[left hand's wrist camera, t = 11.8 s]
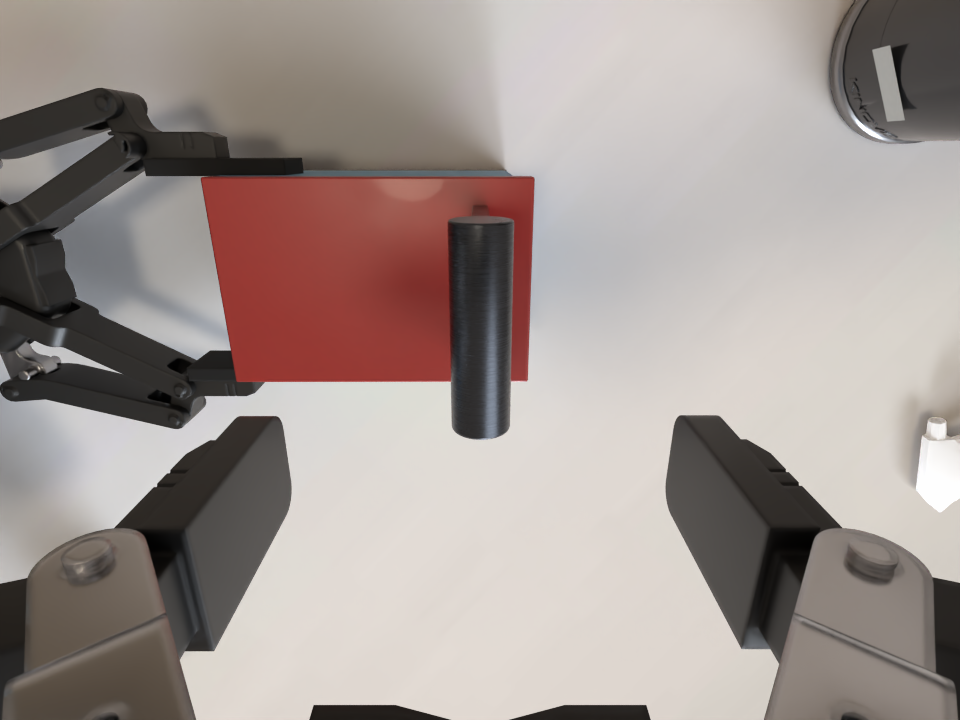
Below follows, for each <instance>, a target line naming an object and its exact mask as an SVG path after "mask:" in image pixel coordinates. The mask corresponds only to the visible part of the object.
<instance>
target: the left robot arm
mask: <svg viewBox="0 0 960 720" xmlns="http://www.w3.org/2000/svg"><path fill="white" fill-rule="evenodd" d="M830 84H831V91H832V95H833V99H834V102H835V105H836V107H837V109H838V111H839V113H840V115H841V116H842V118H843V119H844V121H845V122H846V123H847V124H848V125H849V126H850V127H851V128H852V129H853V130H854V131H856V132H857V133H858V134H860V135H862V136H864V137H865V138H868V139H870V140H873V141H877V142H881V143H891V144H902V143H917V142H923V141H960V0H856V1H855V3H854V4H853V6H852V7H851V9H850V10H849V12H848V14H847V15H846V17H845V19H844V21H843V23H842V25H841V27H840V30H839V32H838V35H837V37H836V41H835V44H834V47H833V52H832V57H831V64H830ZM666 499H667V504H668V508H669V511H670V513H671V516H672V517H673V519H674V521H675V523H676V525H677V527H678V529H679V531H680V533H681V535H682V536H683V538H684V540H685V542H686V544H687V546H688V548H689V550H690V552H691V554H692V555H693V557H694V559H695V561H696V563H697V565H698V567H699V569H700V571H701V573H702V574H703V576H704V578H705V580H706V582H707V584H708V586H709V588H710V590H711V592H712V593H713V595H714V597H715V599H716V601H717V603H718V605H719V607H720V609H721V611H722V612H723V614H724V616H725V618H726V620H727V622H728V624H729V626H730V628H731V630H732V631H733V633H734V635H735V637H736V639H737V641H738V643H739V645H740V647H741V649H771V651H772V652H773V654H774V656H775V657H776V659H777V661H778V663H779V667H778V671H777V674H776V678H775V682H774V685H773V689H772V692H771V696H770V700H769V703H768V707H767V711H766V714H765V718H764V720H960V583H957V582H952V581H948V580H943V579H938V578H933V577H932V576H931V574H930V572H929V570H928V569H927V567H926V566H925V565H924V564H923V563H922V562H921V561H920V560H919V559H918V558H917V557H915V556H914V555H913V554H912V553H910V552H909V551H907V550H906V549H904V548H903V547H901V546H899V545H897V544H895V543H894V542H891V541H889V540H887V539H885V538H882V537H880V536H877V535H874V534H871V533H868V532H864V531H859V530H855V529H847V528H842V527H841V526H840V525H839V524H838V523H837V522H836V521H835V520H834V519H833V518H832V517H831V516H830V515H829V514H828V513H827V511H826V510H825V509H824V508H823V507H822V506H821V505H820V504H819V503H818V502H817V501H816V500H815V499H814V498H813V497H812V496H811V495H810V494H809V493H808V492H807V491H806V490H805V489H804V488H803V487H802V486H799V482H798V481H797V480H796V479H795V478H794V477H793V476H792V475H791V474H790V473H789V472H786V469H785V468H784V467H783V466H782V465H781V464H780V463H779V462H778V461H777V460H776V459H775V457H774V456H773V455H772V454H771V453H769V452H768V451H766V450H764V449H762V448H761V447H759V446H757V445H755V444H754V443H752V442H750V441H748V440H747V439H740V438H739V437H738V436H737V435H736V434H735V433H734V431H733V430H732V429H731V428H730V427H729V426H728V425H727V424H726V423H725V421H724V420H723V419H722V418H721V417H720V416H716V415H681V416H679V417H678V418H677V419H676V421H675V425H674V430H673V436H672V443H671V450H670V457H669V464H668V471H667V478H666ZM290 501H291V478H290V471H289V464H288V457H287V451H286V444H285V437H284V430H283V425H282V422H281V420H280V419H279V418H278V417H277V416H239V417H237V418H236V419H235V420H234V421H233V422H232V423H231V424H230V425H229V426H228V427H227V429H226V430H225V431H224V432H223V433H222V434H221V435H220V436H219V437H218V438H217V439H216V440H210V441H208V442H206V443H205V444H203V445H201V446H199V447H198V448H196V449H194V450H192V451H191V452H189V453H187V454H186V455H185V456H184V457H183V458H182V459H181V460H180V461H179V462H178V463H177V464H176V465H175V466H174V467H173V468H172V469H171V470H170V474H166V475H165V476H164V477H163V478H162V479H161V480H160V481H159V483H158V484H157V487H154V488H153V489H152V490H151V491H150V492H149V493H148V494H147V495H146V496H145V497H144V498H143V499H142V500H141V501H140V502H139V503H138V504H137V505H136V506H135V507H134V508H133V509H132V510H131V511H130V512H129V513H128V514H127V515H126V516H125V518H124V519H123V520H122V521H121V522H120V523H119V524H118V525H117V526H116V527H115V528H113V529H105V530H101V531H96V532H92V533H89V534H86V535H83V536H80V537H78V538H75V539H73V540H71V541H69V542H66V543H65V544H63V545H61V546H59V547H57V548H56V549H54V550H53V551H51V552H50V553H48V554H47V555H46V556H45V557H43V558H42V559H41V560H40V561H39V562H38V563H37V564H36V565H35V566H34V567H33V569H32V570H31V572H30V574H29V576H28V578H26V579H21V580H16V581H12V582H7V583H2V584H0V720H196V718H195V714H194V711H193V707H192V703H191V700H190V696H189V692H188V689H187V685H186V682H185V678H184V674H183V671H182V667H181V664H180V658H181V657H182V655H183V653H184V652H185V651H214V650H215V648H216V646H217V644H218V643H219V641H220V639H221V637H222V635H223V633H224V631H225V629H226V628H227V626H228V624H229V622H230V620H231V618H232V616H233V614H234V613H235V611H236V609H237V607H238V605H239V603H240V601H241V599H242V598H243V596H244V594H245V592H246V590H247V588H248V586H249V584H250V582H251V581H252V579H253V577H254V575H255V573H256V571H257V569H258V567H259V566H260V564H261V562H262V560H263V558H264V556H265V554H266V552H267V551H268V549H269V547H270V545H271V543H272V541H273V539H274V537H275V536H276V534H277V532H278V530H279V528H280V526H281V524H282V522H283V521H284V519H285V517H286V515H287V512H288V510H289V506H290ZM310 720H449V719H445V718H442V717H438V716H434V715H430V714H427V713H423V712H419V711H415V710H412V709H408V708H404V707H400V706H397V705H314V706H313V710H312V713H311V716H310ZM511 720H650V716H649V713H648V710H647V706H646V705H563V706H560V707H556V708H552V709H548V710H545V711H541V712H537V713H533V714H530V715H526V716H522V717H518V718H515V719H511Z"/></svg>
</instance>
